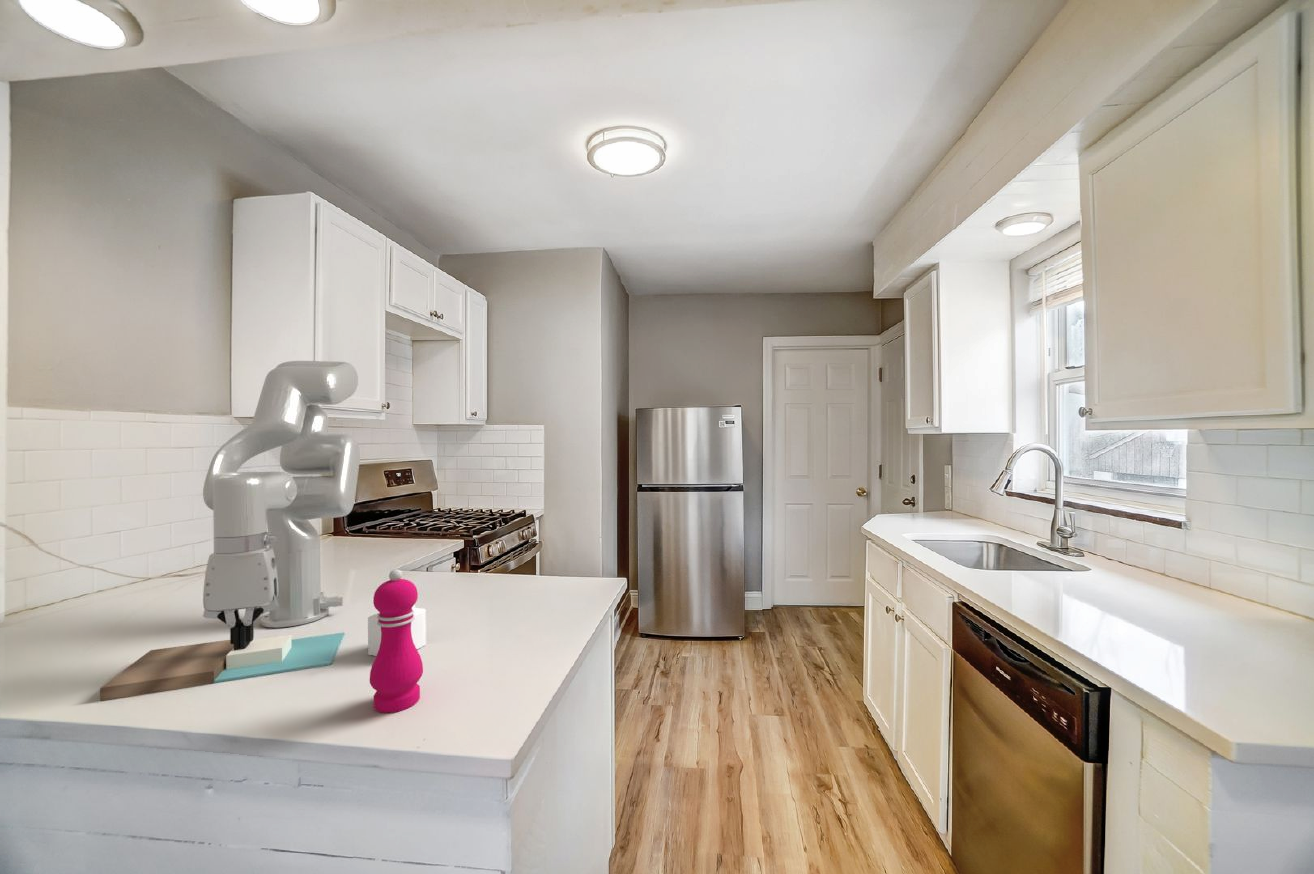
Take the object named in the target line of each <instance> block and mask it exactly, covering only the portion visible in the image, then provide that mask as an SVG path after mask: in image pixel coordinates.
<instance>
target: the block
mask: <svg viewBox="0 0 1314 874" xmlns="http://www.w3.org/2000/svg"><path fill="white" fill-rule="evenodd" d="M291 640H292V634H286V635H278V636H272V637H271V636H270V637H264V638H256V639H255V638H254V639H253V641H251V642H250V644H249V645H248V646H247V647H246V648H245V649H241V648H239V649H238V650H234V648H233V649H232V650H231V651H230V652H229V653H228V654H227V655H226V670H228V669H235V668H241V667H248V666H254V665H261V664H268V663H274V662H281V661H283V659H284V658H285V656H286V655H287V653H288V652H289V650H290V649H291V647H292V644H291Z"/></svg>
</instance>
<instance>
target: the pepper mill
mask: <svg viewBox="0 0 1314 874" xmlns="http://www.w3.org/2000/svg"><path fill="white" fill-rule="evenodd" d="M388 577H389V580H387V581H385V582H382V583H381V584H379V586H378V587H377V588H376V589H375V592H374V593H373V606H374V609H376V610H377V612H378V613H380V614H378V616H377V618H378V622H377V624H378V625H379V626H381V643H380V647H379V651H378V653H377V656H375V658H374V661H373V663H372V664H371V668H370V672H369V684H370V686H371V687H372V689H374V690H375V693H374V695H373V709H374V710H375V711H376V712H379V713H384V714H385V713H386V714H387V713H396V712H400V711H403V710H407V709H409V708H411V707H414V705H416V704H417V703H418V702H419V700H420V699H421V689H420V688H421V687H420V684H418V682H419V681H420V679H421V678H422V676H423V673H424V666H423V661H422V657H421V655H420V653H419V651H418V650H417V649H416V647H415V645H414V643H413V639H412V634H411V622H412V621H413V620H414V610H413V609H412V607H413V606H414V604H415V605H416V603H417V602H418V599H419V596H418V595H419V593H418V589H417V587H416V585H415V583H414V582H413V581H411V580H409V579H405V578H402V577H403V572H402V570H400V569H393V570H391V571H390V572H389V574H388Z"/></svg>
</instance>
